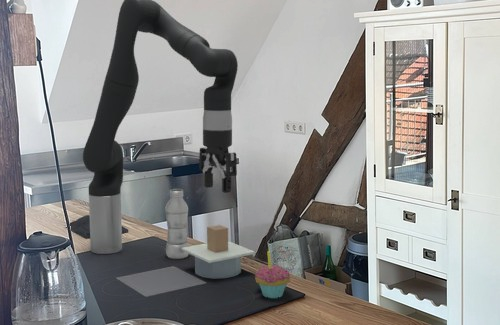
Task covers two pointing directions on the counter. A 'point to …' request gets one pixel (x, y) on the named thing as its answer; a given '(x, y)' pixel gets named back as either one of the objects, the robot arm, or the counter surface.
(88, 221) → the dark slate chunk
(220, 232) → the lid
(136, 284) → the mat
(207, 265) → the bowl
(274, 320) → the counter surface
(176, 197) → the plastic bottle
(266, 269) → the cupcake
